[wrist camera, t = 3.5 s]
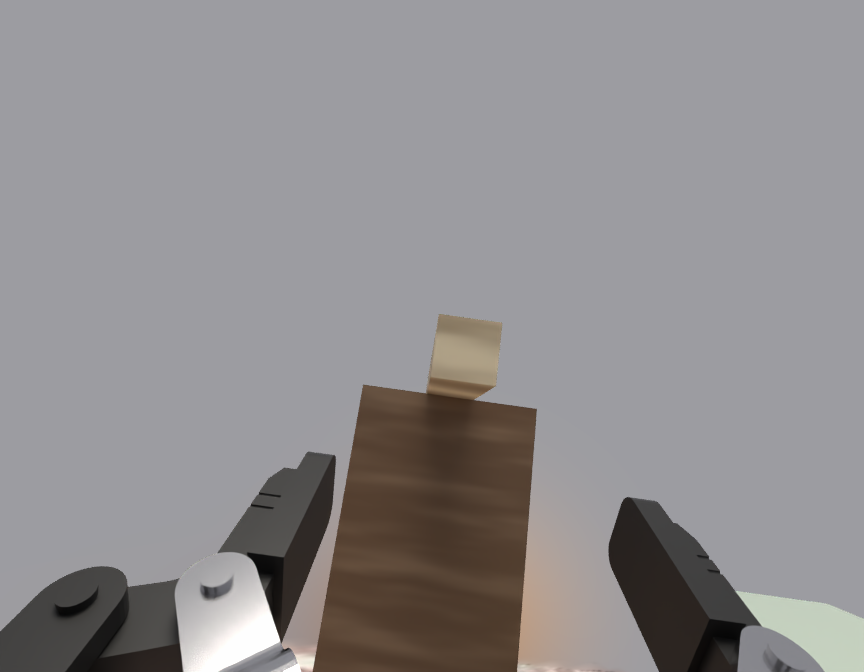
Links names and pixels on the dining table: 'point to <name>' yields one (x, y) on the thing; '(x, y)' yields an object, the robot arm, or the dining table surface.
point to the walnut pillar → (430, 537)
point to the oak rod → (464, 357)
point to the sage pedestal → (813, 629)
